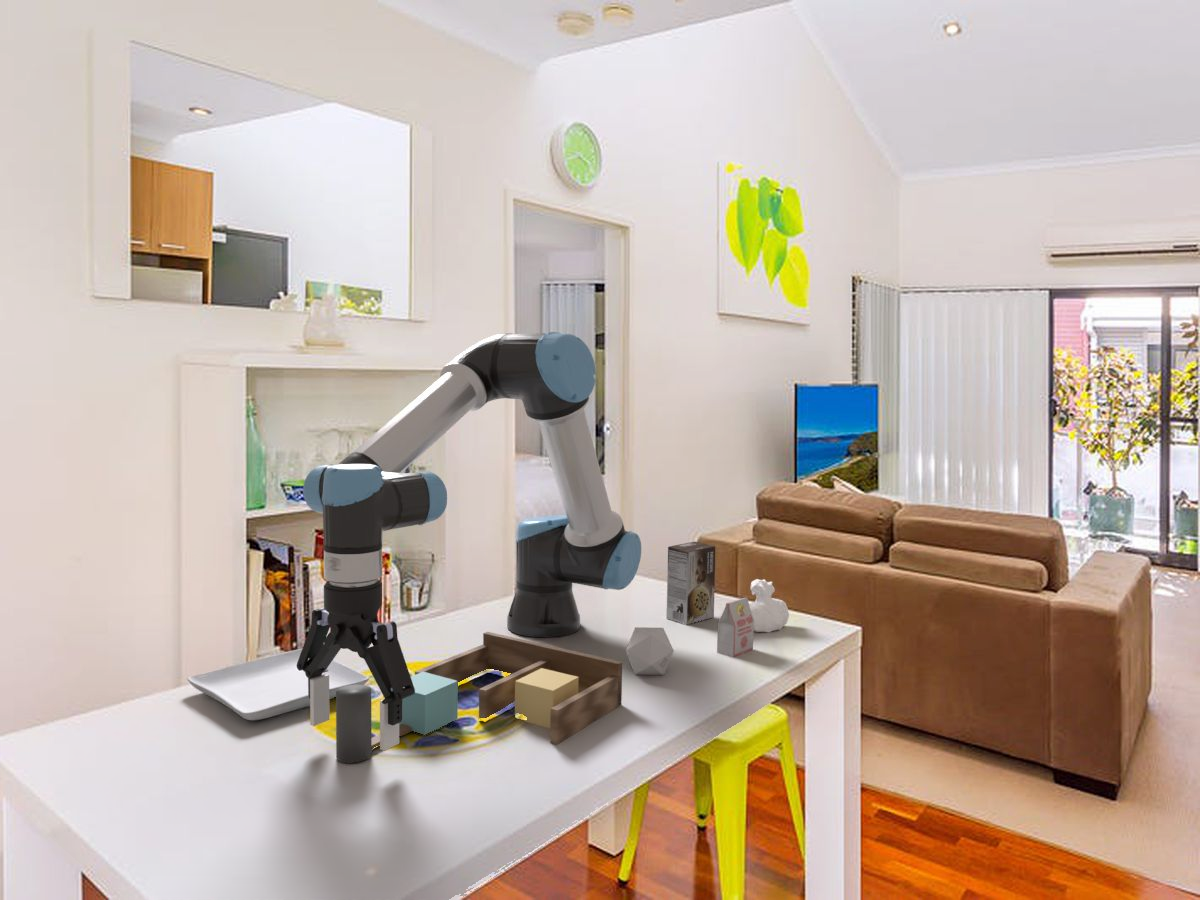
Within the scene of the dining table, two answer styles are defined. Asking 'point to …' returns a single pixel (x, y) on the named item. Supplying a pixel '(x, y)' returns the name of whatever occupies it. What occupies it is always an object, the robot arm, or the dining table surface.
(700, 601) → the food box
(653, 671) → the die
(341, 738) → the block
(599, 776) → the dining table surface
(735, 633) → the white gable top carton
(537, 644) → the lane rack
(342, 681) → the salad plate
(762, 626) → the bust
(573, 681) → the block
